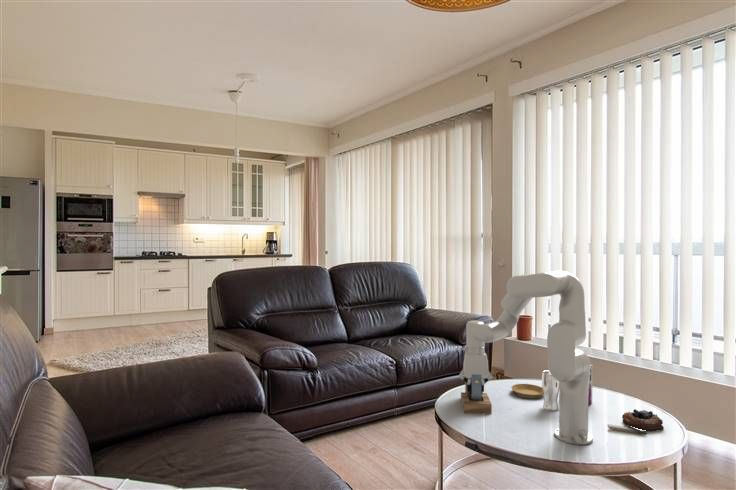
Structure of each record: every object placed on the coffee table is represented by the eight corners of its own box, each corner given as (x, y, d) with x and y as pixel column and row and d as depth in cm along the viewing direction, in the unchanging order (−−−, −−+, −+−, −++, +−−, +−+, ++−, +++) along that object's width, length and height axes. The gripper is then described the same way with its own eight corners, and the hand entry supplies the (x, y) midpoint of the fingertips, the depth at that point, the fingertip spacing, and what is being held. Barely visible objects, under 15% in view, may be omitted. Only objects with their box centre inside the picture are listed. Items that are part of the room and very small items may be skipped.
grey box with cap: (481, 404, 192) (481, 375, 192) (471, 403, 192) (471, 375, 192) (479, 398, 199) (479, 370, 199) (470, 398, 199) (469, 370, 199)
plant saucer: (537, 388, 219) (537, 383, 219) (551, 400, 204) (551, 394, 204) (507, 389, 219) (507, 384, 218) (518, 400, 204) (518, 394, 204)
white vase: (556, 405, 197) (556, 370, 197) (561, 411, 190) (561, 375, 190) (539, 404, 198) (539, 370, 197) (544, 411, 191) (544, 375, 191)
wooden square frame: (491, 413, 189) (491, 364, 188) (464, 412, 190) (463, 364, 189) (484, 396, 208) (484, 352, 208) (459, 396, 209) (459, 352, 209)
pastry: (667, 430, 172) (668, 415, 172) (640, 433, 169) (640, 418, 169) (644, 419, 183) (644, 404, 182) (618, 422, 180) (618, 407, 180)
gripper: (456, 352, 193) (456, 396, 193) (497, 352, 191) (497, 397, 191) (454, 347, 200) (454, 389, 200) (494, 348, 198) (494, 390, 199)
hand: (475, 392), depth 196 cm, fingers closed on grey box with cap, 4 cm apart
